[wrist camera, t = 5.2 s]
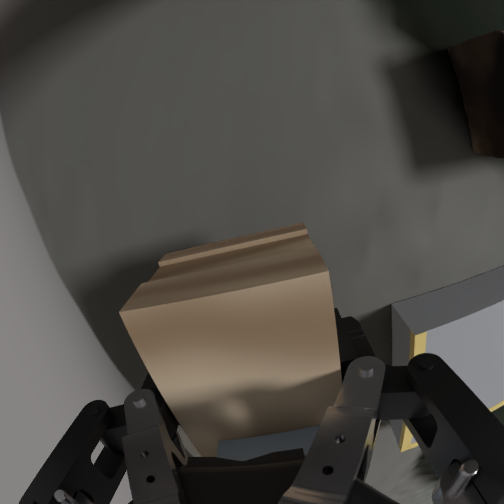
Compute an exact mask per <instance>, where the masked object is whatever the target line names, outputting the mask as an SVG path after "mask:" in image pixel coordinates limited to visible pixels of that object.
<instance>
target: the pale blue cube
mask: <svg viewBox="0 0 504 504" xmlns="http://www.w3.org/2000/svg"><path fill="white" fill-rule="evenodd" d="M319 427H320V425H317V426H312V427H308V428H303V429H298V430H293V431H288V432H282V433H277V434H271V435H264V436H257V437H250V438H242V439H234V440H224V441H218V449H217V456H216V457H219V458H225V459H231V460H237V461H246V460H249V459H253V458H256V457H259V456H263V455H266V454H269V453H272V452H278V451H285V450H292V449H298V448H303V450H304V454H305V455H307V453H308V451H309V449H310V447H311V445H312V443H313V440H314V438H315V436H316V434H317V431H318V429H319Z"/></svg>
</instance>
